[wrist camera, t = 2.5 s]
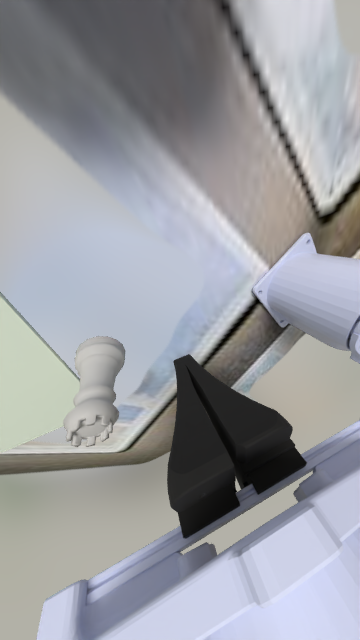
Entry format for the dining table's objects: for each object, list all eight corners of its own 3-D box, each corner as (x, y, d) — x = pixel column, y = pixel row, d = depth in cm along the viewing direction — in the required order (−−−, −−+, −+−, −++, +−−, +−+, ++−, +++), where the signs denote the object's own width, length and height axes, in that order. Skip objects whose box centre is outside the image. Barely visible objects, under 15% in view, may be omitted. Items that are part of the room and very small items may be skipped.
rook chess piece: (81, 329, 15) (50, 412, 8) (130, 337, 17) (137, 409, 10) (73, 366, 16) (40, 461, 10) (118, 369, 18) (118, 450, 12)
